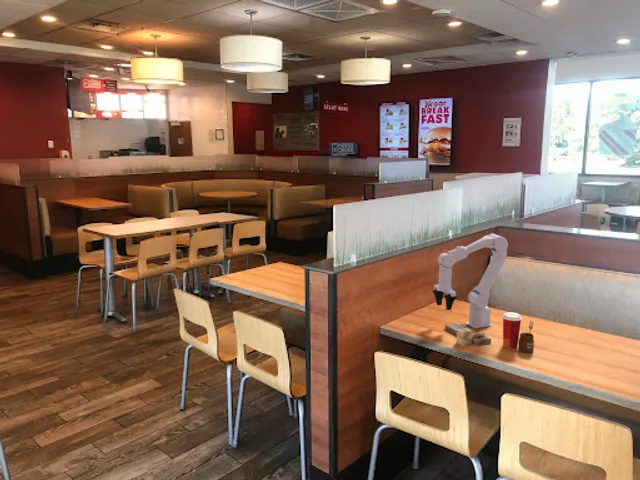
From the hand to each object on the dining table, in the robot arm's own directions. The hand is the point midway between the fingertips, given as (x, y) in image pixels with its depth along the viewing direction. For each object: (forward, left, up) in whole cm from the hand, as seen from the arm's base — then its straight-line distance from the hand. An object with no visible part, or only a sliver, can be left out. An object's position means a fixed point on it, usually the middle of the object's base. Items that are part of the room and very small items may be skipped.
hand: (443, 307), depth 238 cm
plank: (-3, +14, -9) cm, 17 cm away
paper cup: (-12, +31, -10) cm, 35 cm away
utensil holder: (-15, +37, -10) cm, 41 cm away
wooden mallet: (0, +21, -9) cm, 23 cm away
